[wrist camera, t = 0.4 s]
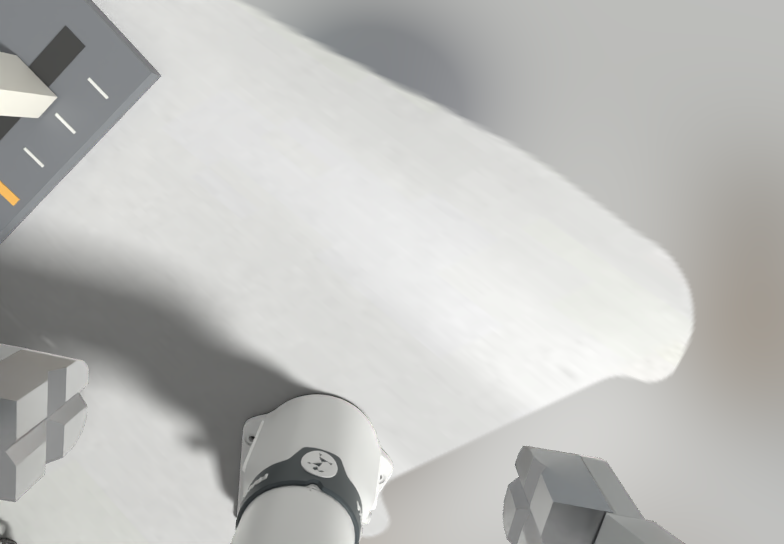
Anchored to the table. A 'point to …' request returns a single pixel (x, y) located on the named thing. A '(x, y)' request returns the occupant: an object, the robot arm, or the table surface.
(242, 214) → the table surface
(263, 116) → the table surface
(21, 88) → the fader tab
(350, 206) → the table surface
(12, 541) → the geometric lantern
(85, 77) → the console board
